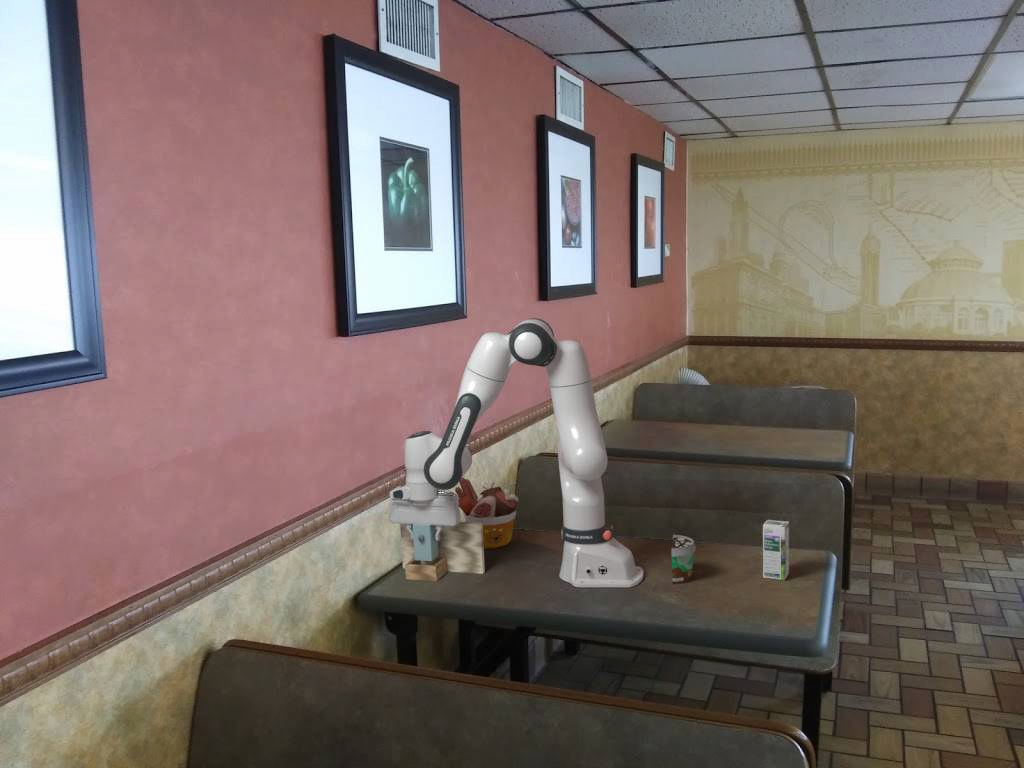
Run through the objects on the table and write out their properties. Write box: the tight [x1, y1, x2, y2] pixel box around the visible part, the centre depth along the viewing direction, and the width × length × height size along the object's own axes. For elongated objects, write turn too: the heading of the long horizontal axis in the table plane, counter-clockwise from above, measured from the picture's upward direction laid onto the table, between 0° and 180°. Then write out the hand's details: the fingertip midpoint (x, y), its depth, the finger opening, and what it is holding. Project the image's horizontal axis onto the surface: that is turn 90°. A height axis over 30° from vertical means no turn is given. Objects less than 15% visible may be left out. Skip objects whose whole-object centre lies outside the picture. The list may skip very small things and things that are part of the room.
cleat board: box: [399, 521, 486, 582], centre depth 256 cm, size 24×10×14 cm, turn 72°
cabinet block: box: [413, 524, 439, 561], centre depth 256 cm, size 5×6×10 cm
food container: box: [671, 534, 697, 585], centre depth 246 cm, size 12×6×10 cm, turn 168°
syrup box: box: [762, 519, 790, 581], centre depth 244 cm, size 6×6×14 cm
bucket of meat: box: [454, 476, 519, 550], centre depth 281 cm, size 20×16×20 cm
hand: (425, 539), depth 256 cm, fingers closed on cabinet block, 5 cm apart
